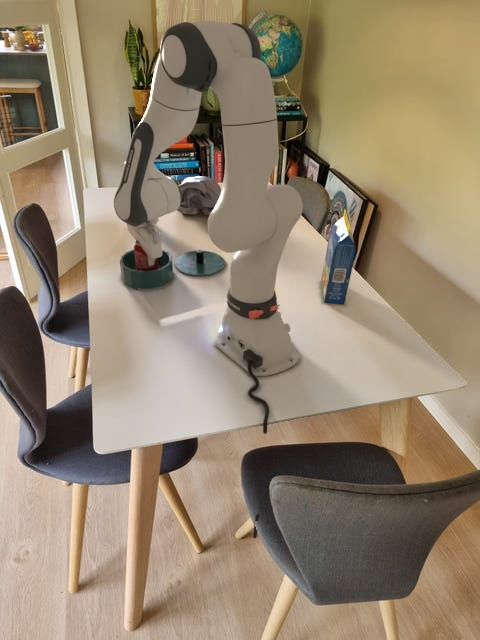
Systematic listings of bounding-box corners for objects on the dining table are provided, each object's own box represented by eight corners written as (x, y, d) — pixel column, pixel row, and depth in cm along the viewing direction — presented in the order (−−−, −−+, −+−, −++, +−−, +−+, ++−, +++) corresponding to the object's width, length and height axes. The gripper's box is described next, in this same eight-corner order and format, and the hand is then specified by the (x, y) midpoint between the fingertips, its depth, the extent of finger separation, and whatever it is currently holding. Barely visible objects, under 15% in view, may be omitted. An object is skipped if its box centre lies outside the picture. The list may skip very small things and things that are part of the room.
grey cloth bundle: (226, 210, 189) (225, 174, 183) (221, 219, 173) (221, 179, 167) (179, 210, 190) (177, 173, 184) (170, 218, 174) (168, 178, 168)
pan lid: (234, 271, 146) (234, 257, 143) (187, 282, 139) (186, 268, 136) (211, 249, 157) (211, 236, 154) (166, 259, 150) (166, 245, 147)
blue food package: (340, 284, 142) (355, 209, 127) (344, 305, 132) (362, 226, 118) (320, 282, 142) (333, 207, 128) (323, 303, 133) (338, 224, 118)
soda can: (154, 283, 137) (151, 247, 130) (133, 280, 138) (129, 244, 131) (161, 272, 142) (159, 237, 135) (141, 269, 143) (138, 235, 136)
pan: (180, 283, 138) (180, 265, 134) (131, 295, 131) (129, 276, 128) (161, 261, 149) (160, 243, 145) (115, 271, 142) (113, 253, 138)
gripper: (166, 227, 122) (169, 271, 130) (141, 201, 136) (144, 242, 144) (144, 231, 120) (148, 276, 128) (120, 204, 134) (125, 246, 142)
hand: (146, 258), depth 136 cm, fingers closed on soda can, 6 cm apart
